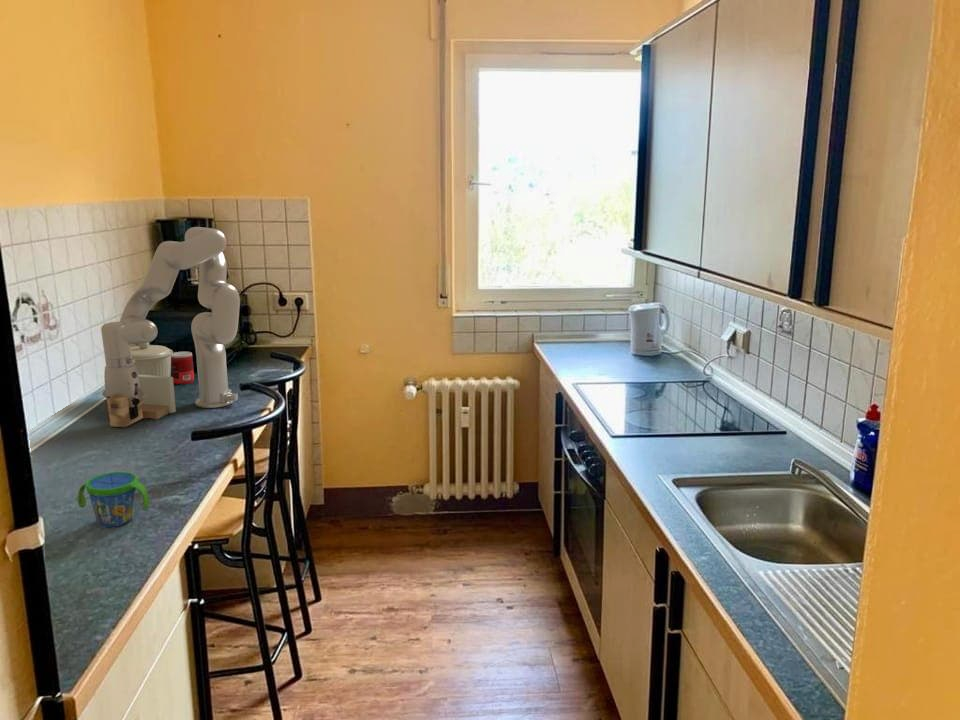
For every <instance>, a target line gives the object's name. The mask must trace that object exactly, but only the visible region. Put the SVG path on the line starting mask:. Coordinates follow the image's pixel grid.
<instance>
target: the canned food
mask: <svg viewBox="0 0 960 720" xmlns="http://www.w3.org/2000/svg"><path fill="white" fill-rule="evenodd" d="M193 360H194V359H193V353H192V352H191V351H178V352H177V351H175V352H173V353H172V354H171V377H173V384H174V385H178V384H182V385H188V383H189V384H192V383H193V382H194V381H195V371H194V361H193Z"/></svg>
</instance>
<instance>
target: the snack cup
mask: <svg viewBox="0 0 960 720" xmlns="http://www.w3.org/2000/svg"><path fill="white" fill-rule="evenodd" d="M85 489H86V492H87V493H88V494H89V498H90V501H91V506H92V509H93V511H94V516H95V518H96V522H97V524H98V525H99V526H100V527H105V528H110V527H115V526H118V527H120V526H123V525H122V524H124V525H126V524H128V523H130V522H131V521H133V518H134V514H135V504H136V503H135V502H136V490H137V492H138V493H139V494H140V495H141V496H142V499H143V500H142V510H143V511H146V510H147V508H148V507H149V504H150V498H149V494H148V491H147V488H146V487H145V486H144V485H143V483H141V482H139V481H138V476H137V475H136V474H134V473H132V472H128V471H112V472H111V471H110V472H107V473H102V474H98V475H96V476H94V477H92V478H90V479H88V480H86V482H85V483H83V484H82V485H80V487H79V489H78V494H77V504H78V507H80V508H85V507H86V505H87V498H86V495H85ZM129 521H130V522H129ZM127 522H128V523H127ZM125 523H126V524H125Z"/></svg>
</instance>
